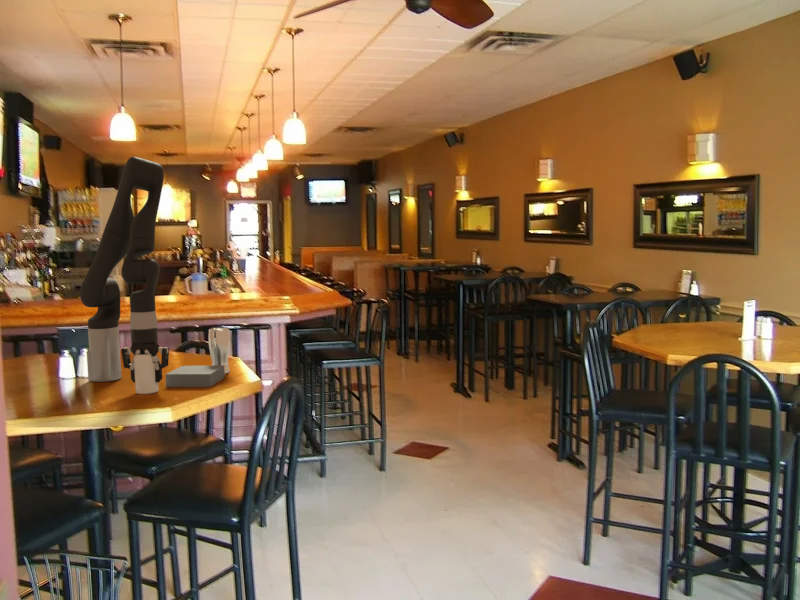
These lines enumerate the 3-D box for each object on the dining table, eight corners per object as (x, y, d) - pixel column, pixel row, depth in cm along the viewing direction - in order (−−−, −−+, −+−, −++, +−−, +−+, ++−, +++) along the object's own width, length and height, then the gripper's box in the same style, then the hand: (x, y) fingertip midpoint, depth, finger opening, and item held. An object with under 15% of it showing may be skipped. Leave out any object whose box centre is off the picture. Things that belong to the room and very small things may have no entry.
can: (131, 394, 210) (128, 354, 209) (144, 389, 216) (142, 350, 215) (149, 395, 208) (147, 354, 207) (163, 390, 214) (161, 351, 213)
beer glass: (220, 370, 245) (218, 327, 243) (235, 371, 241) (233, 328, 240) (205, 373, 239) (203, 329, 237) (220, 375, 235) (218, 330, 234)
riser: (166, 387, 219) (165, 374, 218) (183, 377, 233) (182, 365, 232) (210, 386, 218) (210, 374, 218) (224, 377, 232) (224, 365, 231)
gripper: (114, 328, 207) (117, 384, 209) (162, 328, 206) (165, 384, 208) (126, 325, 214) (129, 379, 216) (172, 324, 213) (175, 379, 215)
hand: (146, 381), depth 212 cm, fingers closed on can, 6 cm apart
